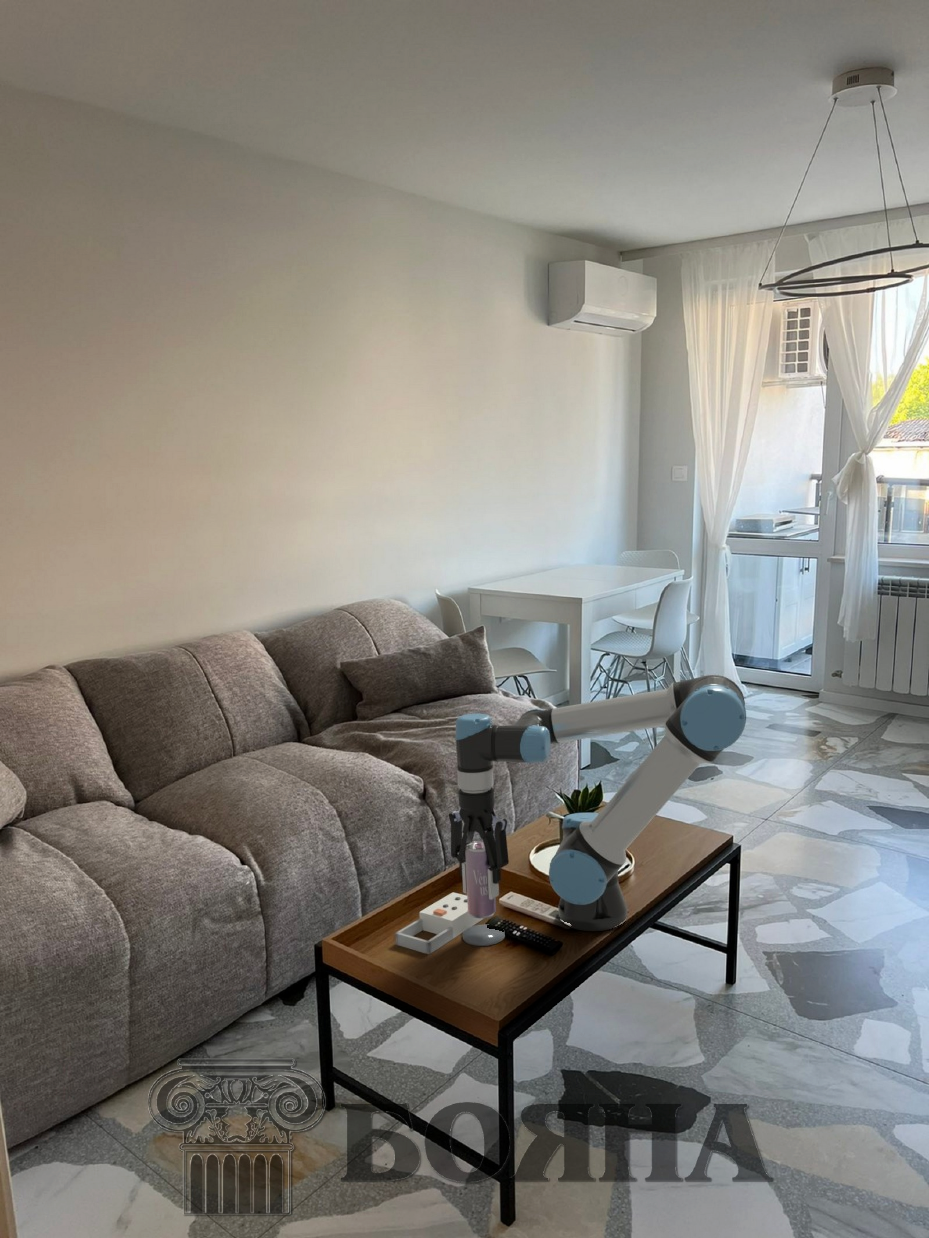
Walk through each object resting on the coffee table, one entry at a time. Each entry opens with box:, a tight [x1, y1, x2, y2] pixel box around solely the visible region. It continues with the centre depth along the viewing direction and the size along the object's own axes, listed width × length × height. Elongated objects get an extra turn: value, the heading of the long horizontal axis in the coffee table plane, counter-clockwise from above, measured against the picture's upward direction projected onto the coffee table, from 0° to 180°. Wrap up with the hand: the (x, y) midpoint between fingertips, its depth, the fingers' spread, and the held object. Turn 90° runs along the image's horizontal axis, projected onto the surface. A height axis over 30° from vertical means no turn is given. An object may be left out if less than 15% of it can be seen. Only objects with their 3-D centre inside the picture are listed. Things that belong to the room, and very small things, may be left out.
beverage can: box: [465, 840, 497, 919], centre depth 200 cm, size 6×6×15 cm
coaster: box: [462, 923, 506, 947], centre depth 201 cm, size 9×9×1 cm
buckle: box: [394, 891, 485, 955], centre depth 207 cm, size 28×9×5 cm, turn 144°
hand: (481, 893), depth 200 cm, fingers closed on beverage can, 6 cm apart
